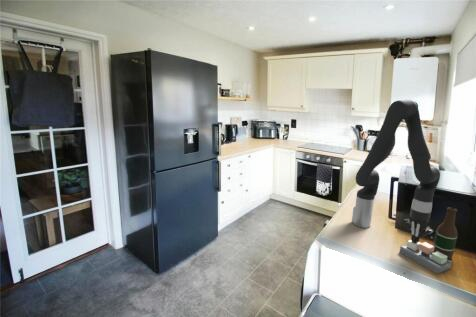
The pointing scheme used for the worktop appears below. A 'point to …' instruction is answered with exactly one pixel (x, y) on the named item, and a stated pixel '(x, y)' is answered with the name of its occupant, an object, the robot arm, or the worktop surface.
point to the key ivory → (413, 245)
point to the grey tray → (425, 259)
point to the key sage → (439, 257)
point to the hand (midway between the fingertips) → (414, 242)
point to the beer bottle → (446, 234)
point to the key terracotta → (426, 248)
